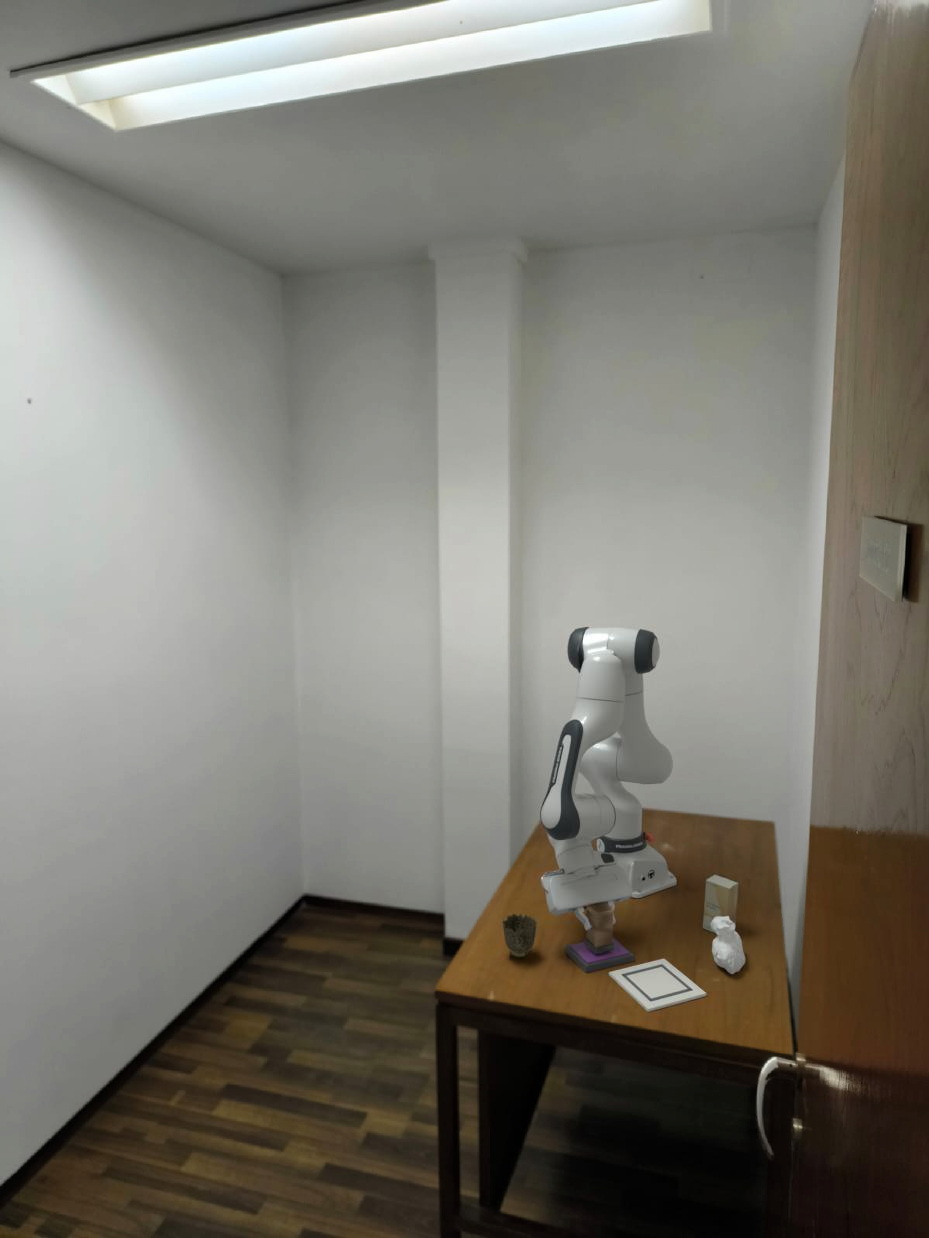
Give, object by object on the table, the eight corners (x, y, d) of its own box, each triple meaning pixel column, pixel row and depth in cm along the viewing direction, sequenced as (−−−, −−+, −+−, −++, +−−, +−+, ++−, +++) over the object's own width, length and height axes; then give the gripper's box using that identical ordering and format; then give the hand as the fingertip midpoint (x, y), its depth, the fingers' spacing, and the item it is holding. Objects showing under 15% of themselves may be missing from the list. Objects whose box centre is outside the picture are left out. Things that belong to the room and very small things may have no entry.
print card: (663, 960, 176) (664, 957, 176) (706, 995, 163) (706, 992, 163) (608, 974, 171) (608, 971, 171) (648, 1011, 158) (648, 1008, 158)
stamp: (602, 938, 181) (603, 900, 179) (614, 949, 176) (615, 910, 175) (583, 943, 179) (584, 904, 178) (595, 953, 174) (596, 914, 173)
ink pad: (611, 941, 184) (611, 934, 184) (633, 960, 176) (634, 953, 176) (564, 951, 180) (565, 944, 179) (586, 972, 171) (586, 965, 171)
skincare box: (702, 928, 190) (704, 879, 188) (711, 922, 193) (713, 873, 191) (727, 938, 185) (729, 888, 184) (736, 932, 188) (739, 882, 187)
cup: (515, 943, 183) (515, 909, 182) (542, 954, 179) (543, 919, 178) (495, 956, 178) (495, 922, 177) (523, 968, 173) (523, 933, 172)
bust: (731, 959, 181) (701, 914, 183) (760, 946, 177) (729, 901, 179) (720, 987, 170) (689, 939, 172) (751, 973, 167) (719, 925, 169)
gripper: (543, 867, 178) (564, 930, 170) (622, 853, 186) (646, 912, 178) (533, 878, 182) (553, 940, 175) (611, 864, 190) (634, 923, 182)
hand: (601, 926), depth 176 cm, fingers closed on stamp, 4 cm apart
